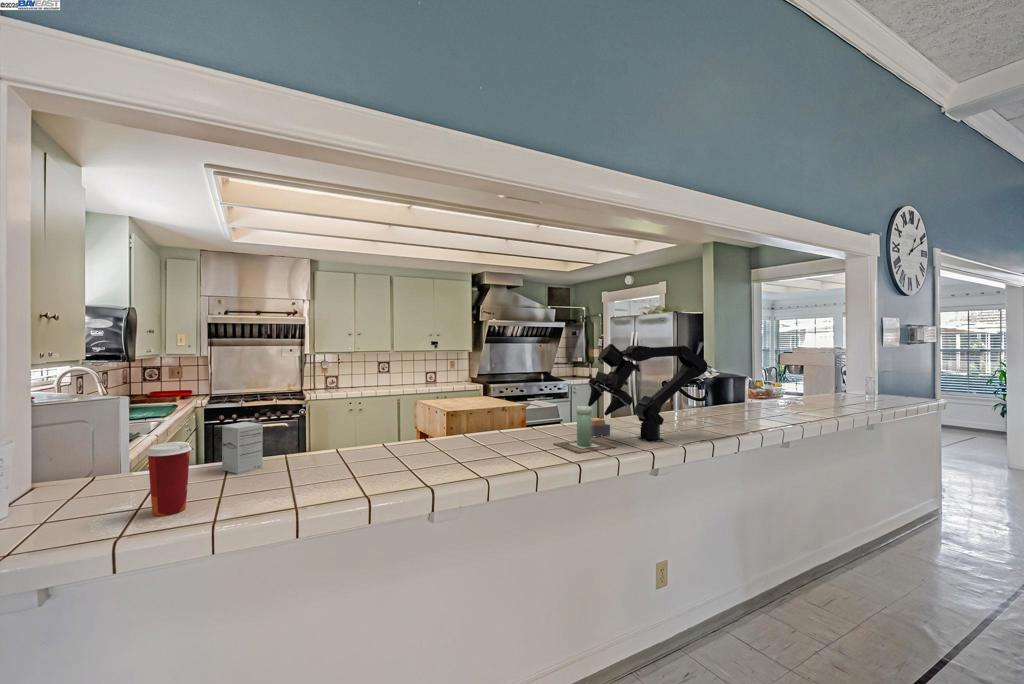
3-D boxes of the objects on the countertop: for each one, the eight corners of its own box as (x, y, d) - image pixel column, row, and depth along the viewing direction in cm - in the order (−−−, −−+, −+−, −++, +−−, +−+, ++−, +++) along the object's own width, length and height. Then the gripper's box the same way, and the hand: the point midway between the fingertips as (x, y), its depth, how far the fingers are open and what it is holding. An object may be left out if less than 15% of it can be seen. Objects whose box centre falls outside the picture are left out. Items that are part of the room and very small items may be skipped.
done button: (596, 423, 178) (596, 417, 177) (604, 425, 173) (604, 419, 173) (585, 424, 175) (585, 418, 175) (594, 427, 170) (594, 420, 170)
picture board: (590, 439, 164) (590, 438, 164) (615, 448, 152) (615, 446, 152) (553, 444, 156) (553, 443, 156) (577, 453, 144) (577, 452, 144)
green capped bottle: (582, 442, 158) (581, 405, 158) (594, 444, 154) (594, 406, 154) (573, 444, 154) (573, 407, 154) (586, 447, 150) (586, 408, 151)
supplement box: (221, 470, 124) (221, 425, 123) (247, 464, 130) (247, 420, 130) (237, 474, 120) (237, 427, 120) (263, 467, 127) (263, 423, 127)
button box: (596, 431, 179) (596, 421, 179) (609, 435, 172) (610, 424, 172) (580, 433, 176) (580, 422, 176) (593, 437, 169) (593, 426, 169)
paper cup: (200, 504, 98) (200, 441, 98) (171, 518, 91) (171, 450, 91) (166, 503, 99) (166, 440, 99) (135, 517, 91) (135, 449, 91)
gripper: (591, 356, 166) (568, 391, 164) (626, 370, 150) (600, 408, 148) (608, 372, 172) (585, 405, 170) (643, 386, 156) (619, 424, 154)
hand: (596, 410), depth 160 cm, fingers open, 9 cm apart
